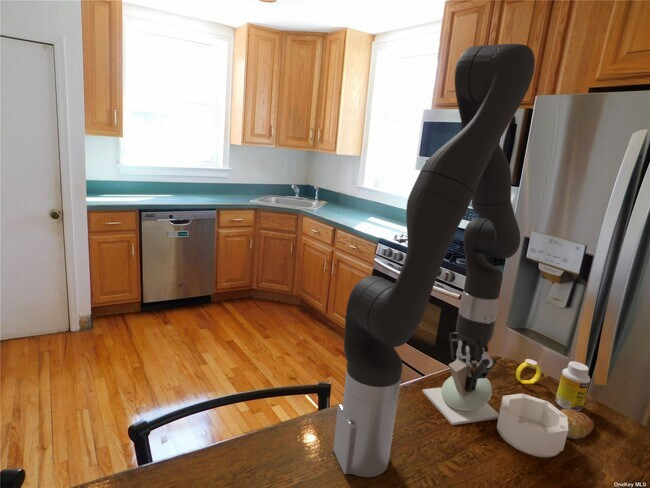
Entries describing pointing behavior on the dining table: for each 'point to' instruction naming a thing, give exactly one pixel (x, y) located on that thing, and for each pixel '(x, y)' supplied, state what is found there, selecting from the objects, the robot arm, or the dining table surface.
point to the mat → (457, 415)
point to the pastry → (578, 424)
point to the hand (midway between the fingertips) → (464, 385)
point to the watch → (527, 363)
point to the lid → (458, 396)
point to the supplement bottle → (573, 386)
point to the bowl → (532, 425)
